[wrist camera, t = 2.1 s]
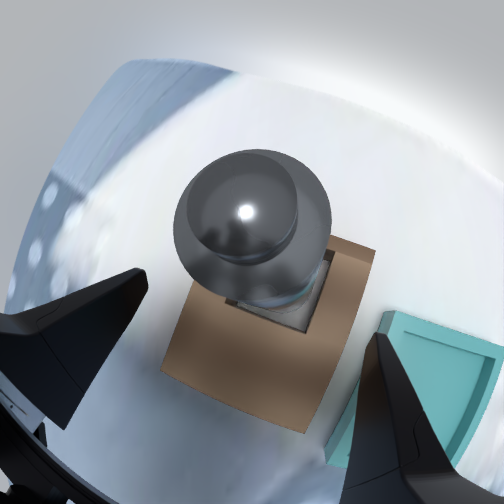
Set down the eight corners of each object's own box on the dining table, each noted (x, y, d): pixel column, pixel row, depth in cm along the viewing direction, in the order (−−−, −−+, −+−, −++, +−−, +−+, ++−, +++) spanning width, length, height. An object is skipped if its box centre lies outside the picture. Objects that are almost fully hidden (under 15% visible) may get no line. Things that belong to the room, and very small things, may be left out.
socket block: (304, 417, 16) (304, 433, 14) (178, 364, 19) (159, 370, 16) (365, 260, 18) (375, 250, 16) (237, 217, 21) (227, 202, 18)
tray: (436, 466, 13) (447, 478, 10) (324, 448, 16) (326, 464, 13) (489, 346, 15) (507, 347, 12) (384, 311, 17) (395, 310, 15)
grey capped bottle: (300, 321, 18) (297, 327, 5) (246, 300, 19) (129, 256, 6) (320, 266, 19) (354, 150, 6) (267, 248, 20) (199, 116, 7)
